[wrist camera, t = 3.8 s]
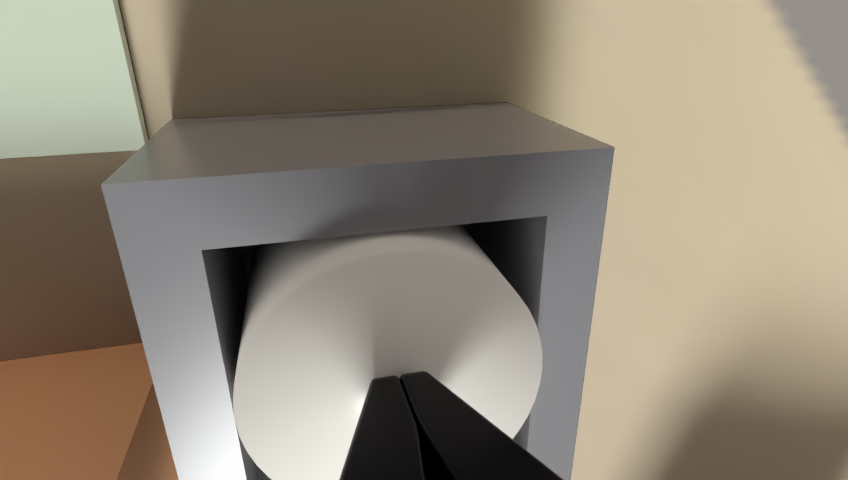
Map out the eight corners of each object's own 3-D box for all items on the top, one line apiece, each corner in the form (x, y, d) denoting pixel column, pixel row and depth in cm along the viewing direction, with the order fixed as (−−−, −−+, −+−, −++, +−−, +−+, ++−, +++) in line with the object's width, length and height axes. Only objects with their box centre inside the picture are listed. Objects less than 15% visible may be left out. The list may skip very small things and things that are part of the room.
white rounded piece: (266, 382, 12) (257, 534, 9) (234, 181, 10) (205, 271, 7) (466, 351, 13) (532, 478, 10) (470, 163, 11) (555, 234, 8)
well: (228, 402, 13) (202, 567, 9) (172, 119, 10) (101, 184, 7) (494, 361, 15) (569, 489, 11) (506, 102, 12) (614, 146, 8)
